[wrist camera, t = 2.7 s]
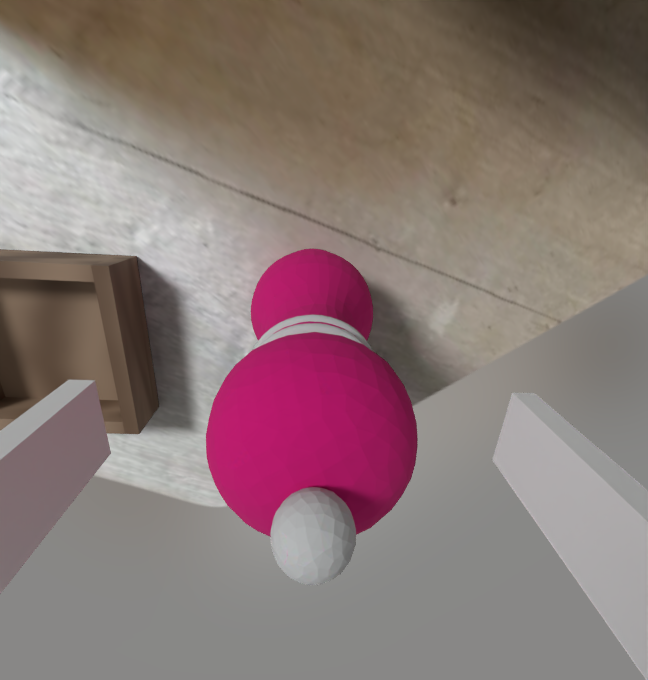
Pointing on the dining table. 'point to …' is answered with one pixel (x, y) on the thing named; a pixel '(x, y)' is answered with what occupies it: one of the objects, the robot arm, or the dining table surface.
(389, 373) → the pepper mill
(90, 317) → the holder tray
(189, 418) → the dining table surface
